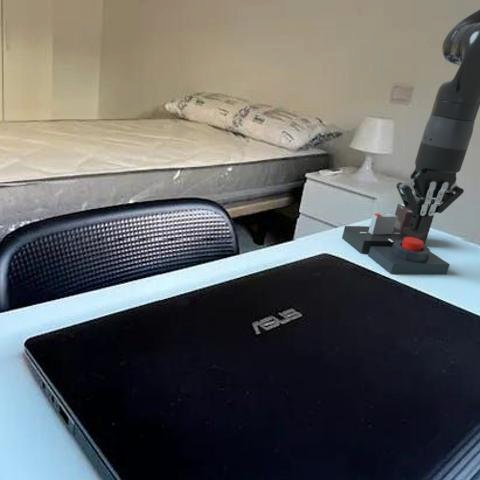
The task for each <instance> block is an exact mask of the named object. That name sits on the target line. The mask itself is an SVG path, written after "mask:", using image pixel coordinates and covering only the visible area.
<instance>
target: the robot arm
mask: <svg viewBox="0 0 480 480" xmlns="http://www.w3.org/2000/svg"><path fill="white" fill-rule="evenodd" d="M446 34H447V35H446V36H445V38H444V40H443V43H442V48H441V51H442V55H443V58H444V59H445V60H446V61H447V62H448V63H449V64H452V65H454V66H459V67H458V69H457V70H456V73H455V75H454V77H453V78H452V79H451V80H447V81H444V82H443V83H441V84H440V86H439V87H438V89H437V91H436V94H435V99H434V102H433V104H432V108H431V111H430V115H429V118H428V120H427V121H426V124H425V126H424V129H423V132H422V137H421V140H420V143H419V146H418V150H417V154H416V156H415V160H414V164H415V168H414V170H413V172H412V173H411V174H410V177H409V179H407V180H406V181H405V182H398V183H397V184H396V189H397V191H398V194H399V195H400V198H401V201H402V204H404V205H405V207H406V208H408V209H409V210H411V211H413V215H412V218H411V221H410V224H409V228H410V230H411V231H412V232H414V233H415V234H423V233H424V231H425V230H426V229H427V227H428V223H429V220H430V217H431V216H432V215H434V214H442V213H443V212H445V210H447V209H448V208H449V207H450V206H451V205H452V204H453V203H454V202H455V201H456V200H457V199H458V198H459V197H461V196H462V195H463V194H464V192H465V190H464V188H462V187H461V186H459V185H458V184H457V183H456V182H457V173H459V172H460V171H461V170H462V167H463V163H464V161H465V157H466V154H467V151H468V149H469V147H470V146H469V145H470V142H471V139H472V136H473V134H474V127H475V124H476V123H475V122H476V119H477V116H478V113H479V110H480V9H478V10H476V11H475V12H473V13H471V14H470V15H467V16H466V17H465V18H463V19H462V20H461V21H459V22H458V23H456V24H455V25H454V26H453V27H452V28H451V30H449V32H448V33H446Z"/></svg>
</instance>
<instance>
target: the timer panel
mask: <svg viewBox="0 0 480 480" xmlns="http://www.w3.org/2000/svg"><path fill="white" fill-rule="evenodd" d="M369 227H370V224H367V226H364V225H344V228H343V231H342V232H343V233H342V236H341V239H342V240H343V241H344V242H345V243H347V244H348V245H349V246H351V248H353V249H354V250H356V251H357V252H358V253H359V254H360V255H368V254H369V250H370V247H371V246H376V247H392V246H393V243H394V242H395V241H397V240H403V239H404V238H405V237H409V236H408V235H406V234H405V233H403V232H402V231H400V230H399V229H397V228H395V227H394V230H393V233H392V234H375V235H372V234H371V233H369V232H368V231H369Z"/></svg>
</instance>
